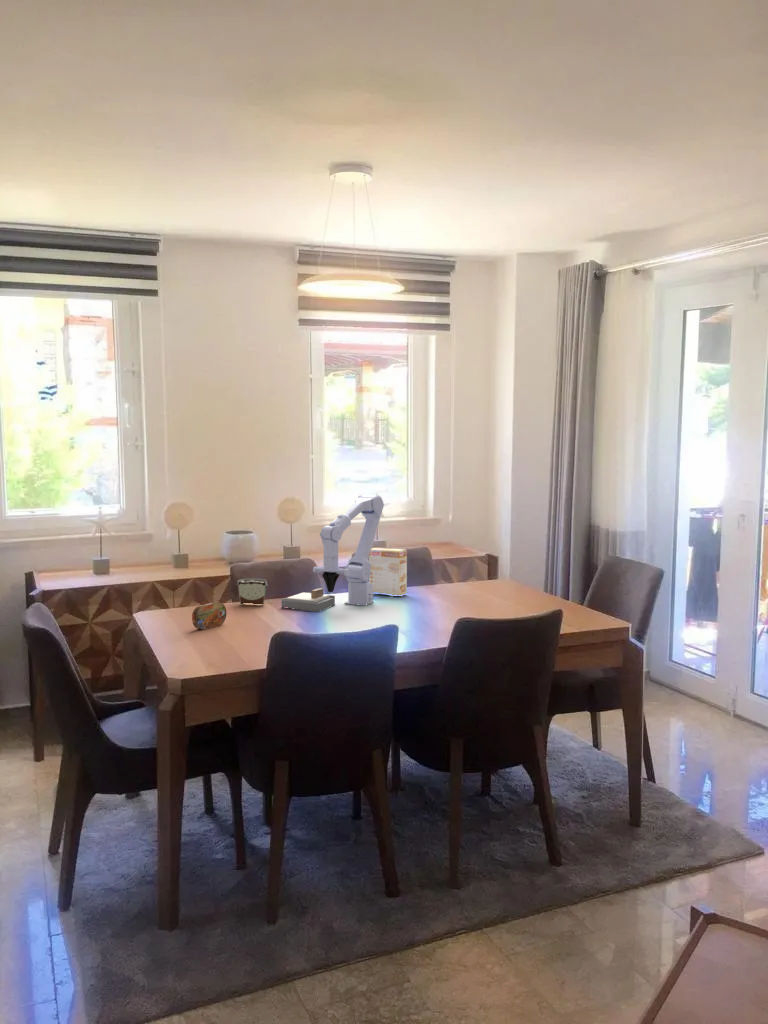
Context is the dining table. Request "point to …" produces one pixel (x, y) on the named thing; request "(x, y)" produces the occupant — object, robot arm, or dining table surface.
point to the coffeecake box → (388, 570)
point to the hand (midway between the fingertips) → (330, 591)
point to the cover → (311, 595)
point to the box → (308, 603)
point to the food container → (252, 590)
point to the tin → (209, 615)
